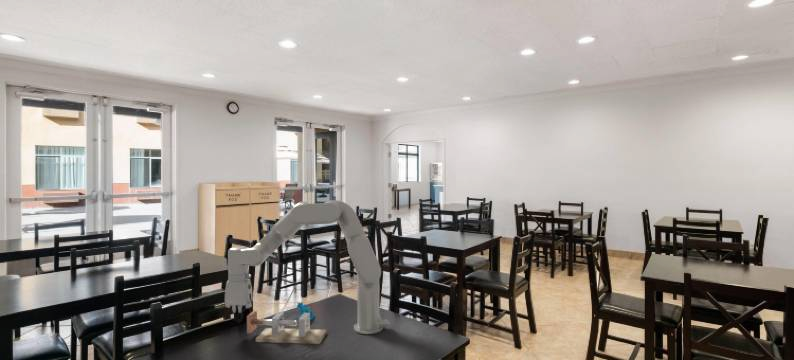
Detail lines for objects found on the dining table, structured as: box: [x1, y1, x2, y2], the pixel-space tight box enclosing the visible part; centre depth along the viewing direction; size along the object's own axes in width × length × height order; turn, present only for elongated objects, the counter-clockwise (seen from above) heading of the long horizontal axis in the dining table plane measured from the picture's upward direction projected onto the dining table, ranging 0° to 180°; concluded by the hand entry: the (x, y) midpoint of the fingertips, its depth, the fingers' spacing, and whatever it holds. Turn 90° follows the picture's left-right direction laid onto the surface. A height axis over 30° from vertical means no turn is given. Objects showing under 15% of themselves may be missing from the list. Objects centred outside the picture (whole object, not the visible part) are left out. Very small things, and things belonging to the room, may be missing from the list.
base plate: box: [255, 327, 327, 345], centre depth 160 cm, size 26×10×2 cm, turn 86°
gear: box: [296, 302, 315, 321], centre depth 180 cm, size 11×6×10 cm
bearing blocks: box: [271, 311, 311, 338], centre depth 160 cm, size 14×7×8 cm, turn 86°
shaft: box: [246, 310, 298, 334], centre depth 160 cm, size 20×6×7 cm, turn 86°
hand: (238, 321), depth 161 cm, fingers closed
